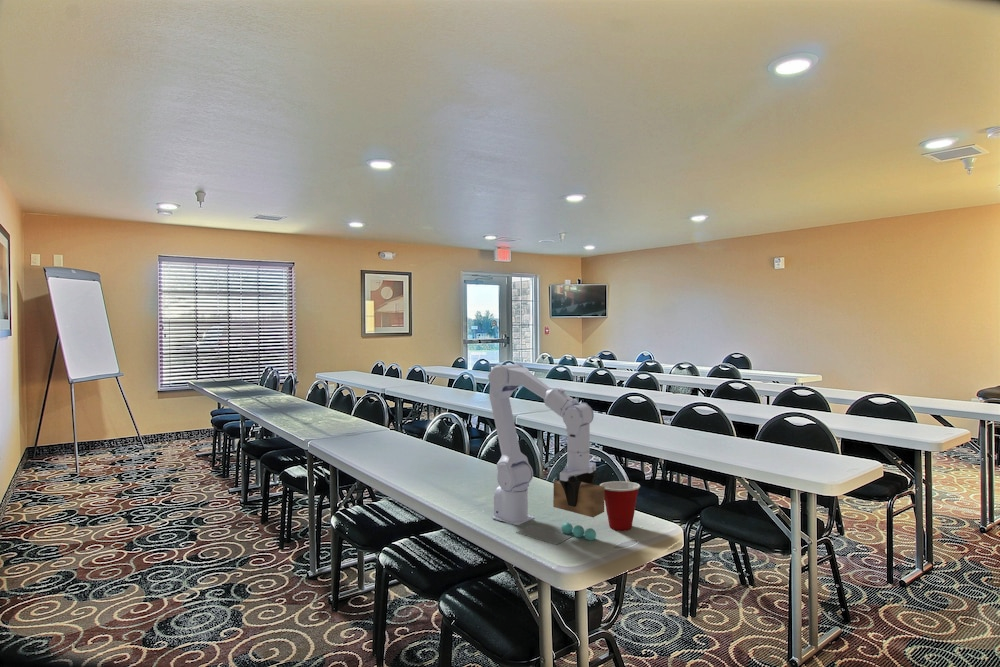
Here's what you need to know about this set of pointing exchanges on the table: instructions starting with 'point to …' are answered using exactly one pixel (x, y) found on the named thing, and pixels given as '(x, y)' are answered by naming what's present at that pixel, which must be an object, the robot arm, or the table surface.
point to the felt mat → (544, 534)
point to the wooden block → (581, 499)
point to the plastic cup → (620, 503)
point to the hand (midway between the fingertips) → (578, 502)
